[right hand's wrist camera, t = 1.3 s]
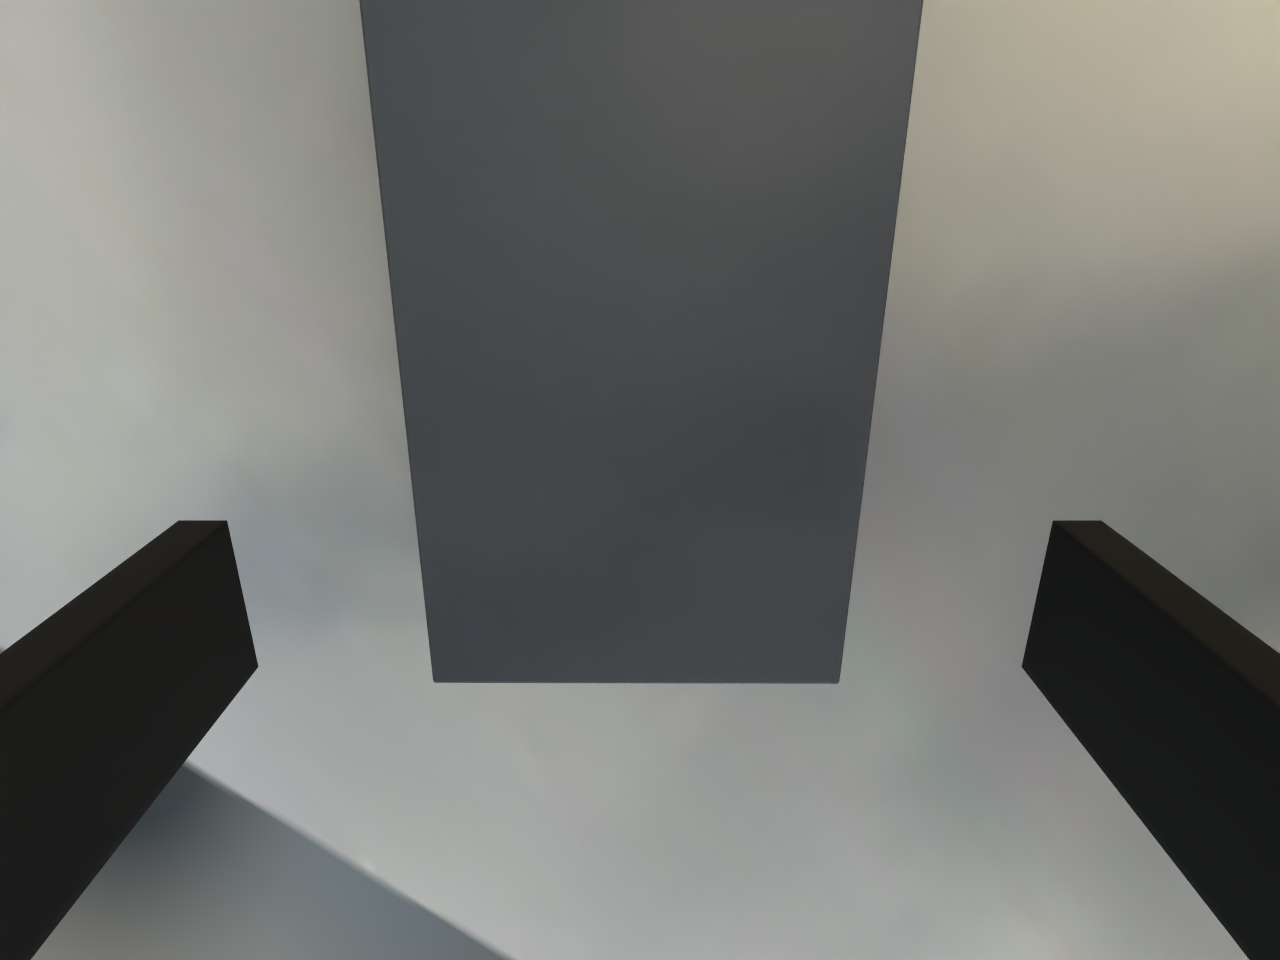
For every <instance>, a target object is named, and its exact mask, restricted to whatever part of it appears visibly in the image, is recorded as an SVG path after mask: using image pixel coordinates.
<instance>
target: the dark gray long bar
mask: <svg viewBox="0 0 1280 960" xmlns="http://www.w3.org/2000/svg"><path fill="white" fill-rule="evenodd" d="M922 5H923V0H360V9H361V19H362V28H363V37H364V46H365V56H366V65H367V74H368V83H369V92H370V102H371V111H372V120H373V129H374V139H375V148H376V157H377V166H378V175H379V185H380V194H381V203H382V212H383V222H384V231H385V240H386V249H387V258H388V268H389V277H390V286H391V295H392V305H393V314H394V323H395V332H396V341H397V351H398V360H399V369H400V378H401V388H402V397H403V406H404V415H405V425H406V434H407V443H408V452H409V461H410V471H411V480H412V489H413V498H414V508H415V517H416V526H417V535H418V544H419V554H420V563H421V572H422V581H423V591H424V600H425V609H426V618H427V627H428V637H429V646H430V655H431V664H432V674H433V681H434V682H435V683H790V684H837V683H839V680H840V672H841V664H842V656H843V648H844V640H845V631H846V623H847V615H848V607H849V599H850V591H851V583H852V574H853V566H854V558H855V550H856V542H857V534H858V526H859V518H860V509H861V501H862V493H863V485H864V477H865V469H866V461H867V453H868V444H869V436H870V428H871V420H872V412H873V404H874V396H875V388H876V379H877V371H878V363H879V355H880V347H881V339H882V331H883V322H884V314H885V306H886V298H887V290H888V282H889V274H890V266H891V257H892V249H893V241H894V233H895V225H896V217H897V209H898V201H899V192H900V184H901V176H902V168H903V160H904V152H905V144H906V136H907V127H908V119H909V111H910V103H911V95H912V87H913V79H914V70H915V62H916V54H917V46H918V38H919V30H920V22H921V14H922Z"/></svg>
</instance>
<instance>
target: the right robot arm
mask: <svg viewBox="0 0 1280 960" xmlns="http://www.w3.org/2000/svg"><path fill="white" fill-rule="evenodd" d="M257 668H258V663H257V658H256V654H255V649H254V644H253V640H252V635H251V630H250V626H249V621H248V616H247V612H246V607H245V602H244V598H243V593H242V588H241V584H240V579H239V574H238V570H237V565H236V560H235V556H234V551H233V546H232V542H231V537H230V532H229V528H228V523H227V521H178V522H176V523H175V524H174V525H172V526H171V527H170V528H168V529H167V530H165V531H164V532H163V533H161V534H160V535H159V536H157V537H156V538H155V539H153V540H152V541H151V542H149V543H148V544H147V545H145V546H144V547H143V548H141V549H140V550H139V551H137V552H136V553H135V554H133V555H132V556H131V557H129V558H128V559H127V560H125V561H124V562H123V563H121V564H120V565H119V566H117V567H116V568H115V569H113V570H112V571H111V572H109V573H108V574H107V575H105V576H104V577H103V578H101V579H100V580H99V581H97V582H96V583H95V584H93V585H92V586H91V587H89V588H88V589H87V590H85V591H84V592H82V593H81V594H80V595H78V596H77V597H76V598H74V599H73V600H72V601H70V602H69V603H68V604H66V605H65V606H64V607H62V608H61V609H60V610H58V611H57V612H56V613H54V614H53V615H52V616H50V617H49V618H48V619H46V620H45V621H44V622H42V623H41V624H40V625H38V626H37V627H36V628H34V629H33V630H32V631H30V632H29V633H28V634H26V635H25V636H24V637H22V638H21V639H20V640H18V641H17V642H16V643H14V644H13V645H12V646H10V647H9V648H8V649H6V650H5V651H4V652H2V653H1V654H0V960H31V958H32V957H33V956H34V954H35V953H36V952H37V951H38V949H39V948H40V947H41V945H42V944H43V943H44V942H45V940H46V939H47V938H48V936H49V935H50V934H51V933H52V931H53V930H54V929H55V927H56V926H57V925H58V924H59V922H60V921H61V920H62V918H63V917H64V916H65V915H66V913H67V912H68V911H69V909H70V908H71V907H72V906H73V904H74V903H75V902H76V900H77V899H78V898H79V897H80V895H81V894H82V893H83V891H84V890H85V889H86V888H87V886H88V885H89V884H90V882H91V881H92V880H93V879H94V877H95V876H96V875H97V873H98V872H99V871H100V870H101V868H102V867H103V866H104V864H105V863H106V862H107V861H108V859H109V858H110V857H111V855H112V854H113V853H114V852H115V850H116V849H117V848H118V846H119V845H120V844H121V843H122V841H123V840H124V839H125V837H126V836H127V835H128V834H129V832H130V831H131V830H132V828H133V827H134V826H135V825H136V823H137V822H138V821H139V819H140V818H141V817H142V816H143V814H144V813H145V812H146V810H147V809H148V808H149V807H150V805H151V804H152V803H153V801H154V800H155V799H156V798H157V796H158V795H159V794H160V792H161V791H162V790H163V789H164V787H165V786H166V785H167V783H168V782H169V781H170V780H171V778H172V777H173V776H174V774H175V773H176V772H177V771H178V769H179V768H180V767H181V765H182V764H183V763H184V762H185V760H186V759H187V758H188V756H189V755H190V754H191V753H192V751H193V750H194V749H195V747H196V746H197V745H198V744H199V742H200V741H201V740H202V738H203V737H204V736H205V735H206V733H207V732H208V731H209V729H210V728H211V727H212V726H213V724H214V723H215V722H216V720H217V719H218V718H219V717H220V715H221V714H222V713H223V711H224V710H225V709H226V708H227V706H228V705H229V704H230V702H231V701H232V700H233V699H234V697H235V696H236V695H237V693H238V692H239V691H240V690H241V688H242V687H243V686H244V684H245V683H246V682H247V681H248V679H249V678H250V677H251V675H252V674H253V673H254V672H255V670H256V669H257ZM1022 668H1023V669H1024V670H1025V672H1026V673H1027V674H1028V675H1029V677H1030V678H1031V679H1032V681H1033V682H1034V683H1035V684H1036V686H1037V687H1038V688H1039V690H1040V691H1041V692H1042V693H1043V695H1044V696H1045V697H1046V699H1047V700H1048V701H1049V702H1050V704H1051V705H1052V706H1053V708H1054V709H1055V710H1056V711H1057V713H1058V714H1059V715H1060V717H1061V718H1062V719H1063V720H1064V722H1065V723H1066V724H1067V726H1068V727H1069V728H1070V729H1071V731H1072V732H1073V733H1074V735H1075V736H1076V737H1077V738H1078V740H1079V741H1080V742H1081V744H1082V745H1083V746H1084V747H1085V749H1086V750H1087V751H1088V753H1089V754H1090V755H1091V756H1092V758H1093V759H1094V760H1095V762H1096V763H1097V764H1098V765H1099V767H1100V768H1101V769H1102V771H1103V772H1104V773H1105V774H1106V776H1107V777H1108V778H1109V780H1110V781H1111V782H1112V783H1113V785H1114V786H1115V787H1116V789H1117V790H1118V791H1119V792H1120V794H1121V795H1122V796H1123V798H1124V799H1125V800H1126V801H1127V803H1128V804H1129V805H1130V807H1131V808H1132V809H1133V810H1134V812H1135V813H1136V814H1137V816H1138V817H1139V818H1140V819H1141V821H1142V822H1143V823H1144V825H1145V826H1146V827H1147V828H1148V830H1149V831H1150V832H1151V834H1152V835H1153V836H1154V837H1155V839H1156V840H1157V841H1158V843H1159V844H1160V845H1161V846H1162V848H1163V849H1164V850H1165V852H1166V853H1167V854H1168V855H1169V857H1170V858H1171V859H1172V861H1173V862H1174V863H1175V864H1176V866H1177V867H1178V868H1179V870H1180V871H1181V872H1182V873H1183V875H1184V876H1185V877H1186V879H1187V880H1188V881H1189V882H1190V884H1191V885H1192V886H1193V888H1194V889H1195V890H1196V891H1197V893H1198V894H1199V895H1200V897H1201V898H1202V899H1203V900H1204V902H1205V903H1206V904H1207V906H1208V907H1209V908H1210V909H1211V911H1212V912H1213V913H1214V915H1215V916H1216V917H1217V918H1218V920H1219V921H1220V922H1221V924H1222V925H1223V926H1224V927H1225V929H1226V930H1227V931H1228V933H1229V934H1230V935H1231V936H1232V938H1233V939H1234V940H1235V942H1236V943H1237V944H1238V945H1239V947H1240V948H1241V949H1242V951H1243V952H1244V953H1245V954H1246V956H1247V957H1248V958H1249V960H1280V654H1279V653H1278V652H1276V651H1275V650H1274V649H1272V648H1271V647H1270V646H1268V645H1267V644H1266V643H1264V642H1263V641H1262V640H1260V639H1259V638H1258V637H1256V636H1255V635H1254V634H1252V633H1251V632H1250V631H1248V630H1247V629H1246V628H1244V627H1243V626H1242V625H1240V624H1239V623H1238V622H1236V621H1235V620H1234V619H1232V618H1231V617H1230V616H1228V615H1227V614H1226V613H1224V612H1223V611H1222V610H1220V609H1219V608H1218V607H1216V606H1215V605H1214V604H1212V603H1211V602H1210V601H1208V600H1207V599H1206V598H1204V597H1203V596H1202V595H1200V594H1199V593H1198V592H1196V591H1195V590H1193V589H1192V588H1191V587H1189V586H1188V585H1187V584H1185V583H1184V582H1183V581H1181V580H1180V579H1179V578H1177V577H1176V576H1175V575H1173V574H1172V573H1171V572H1169V571H1168V570H1167V569H1165V568H1164V567H1163V566H1161V565H1160V564H1159V563H1157V562H1156V561H1155V560H1153V559H1152V558H1151V557H1149V556H1148V555H1147V554H1145V553H1144V552H1143V551H1141V550H1140V549H1139V548H1137V547H1136V546H1135V545H1133V544H1132V543H1131V542H1129V541H1128V540H1127V539H1125V538H1124V537H1123V536H1121V535H1120V534H1119V533H1117V532H1116V531H1115V530H1113V529H1112V528H1110V527H1109V526H1108V525H1106V524H1105V523H1104V522H1102V521H1053V523H1052V528H1051V532H1050V537H1049V542H1048V546H1047V551H1046V556H1045V560H1044V565H1043V570H1042V574H1041V579H1040V584H1039V588H1038V593H1037V598H1036V602H1035V607H1034V612H1033V616H1032V621H1031V626H1030V630H1029V635H1028V640H1027V644H1026V649H1025V654H1024V658H1023V663H1022Z"/></svg>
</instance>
